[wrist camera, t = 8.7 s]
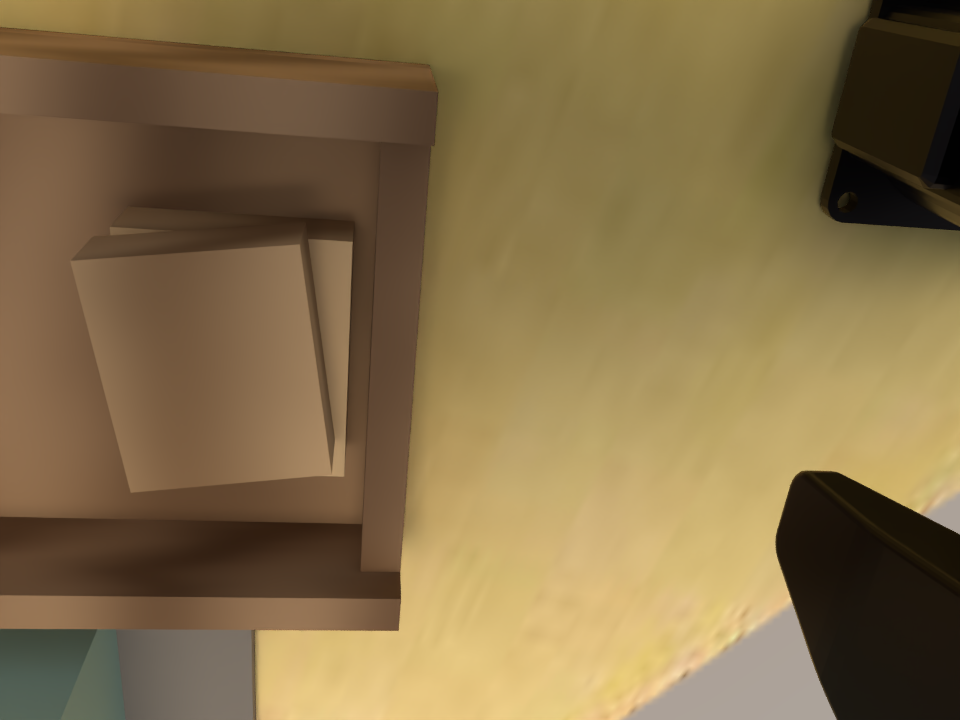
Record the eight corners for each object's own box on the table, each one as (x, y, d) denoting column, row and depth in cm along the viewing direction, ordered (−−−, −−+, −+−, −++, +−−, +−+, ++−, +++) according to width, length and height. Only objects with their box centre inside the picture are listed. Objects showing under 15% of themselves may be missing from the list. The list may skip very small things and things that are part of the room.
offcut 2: (354, 221, 20) (352, 241, 19) (346, 444, 23) (344, 476, 22) (128, 206, 20) (109, 227, 18) (146, 438, 22) (130, 471, 21)
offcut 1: (305, 221, 19) (299, 244, 17) (335, 440, 21) (331, 474, 20) (92, 236, 18) (70, 261, 17) (146, 456, 21) (130, 492, 20)
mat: (253, 552, 25) (250, 566, 24) (256, 775, 29) (254, 791, 28) (-132, 546, 24) (-144, 560, 23) (-74, 781, 27) (-83, 798, 27)
